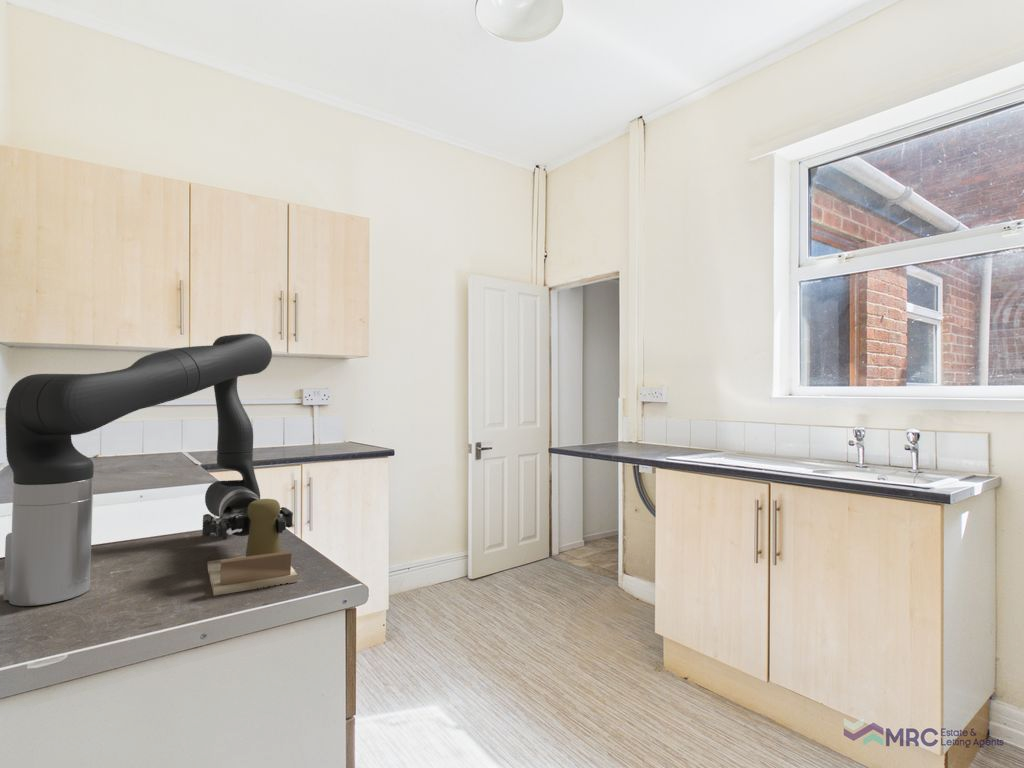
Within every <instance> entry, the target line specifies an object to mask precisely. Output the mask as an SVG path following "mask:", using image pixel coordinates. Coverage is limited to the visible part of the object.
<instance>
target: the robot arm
mask: <svg viewBox="0 0 1024 768" xmlns="http://www.w3.org/2000/svg"><path fill="white" fill-rule="evenodd" d="M271 347H272V346H271V345H270V343H269V342H268V340H267V339H265V338H264V337H263V336H262V335H259V334H256V333H255V334H254V333H240V334H230V335H229V334H228V335H222V336H220V337H217V338H216V339H215V340H214V342H213V343H212V345H195V346H184V347H178V348H171V349H166V350H161V351H157V352H153V353H150V354H147V355H145V356H141V358H139V359H137V360H136V361H135V362H134V363H132V364H131V365H130V366H128V367H125V368H121V369H119V370H113V371H106V372H96V373H84V374H83V373H37V374H34V373H33V374H30V375H26V376H24V377H23V378H21V379H19V380H18V381H17V382H16V383H15V384H14V385H13V386H12V387H11V389H10V391H9V393H8V396H7V400H6V404H5V412H4V413H5V414H4V415H5V416H4V417H5V453H6V460H7V463H8V465H9V467H10V469H11V471H12V476H13V477H12V478H13V481H12V482H13V483H12V484H13V485H12V486H13V487H12V513H11V515H12V517H11V518H12V519H11V532H8V533H7V534H6V536H5V541H4V542H5V545H4V546H5V547H4V571H3V573H4V575H3V601H8V602H9V604H11V605H13V606H19V607H20V606H21V607H26V606H27V607H29V606H30V607H31V606H41V605H42V606H43V605H48V604H53V603H58V602H62V601H67V600H69V599H73V598H76V597H79V596H81V595H83V594H85V593H87V592H88V591H89V590H90V587H91V585H90V584H91V563H92V562H91V559H92V532H93V530H92V529H93V503H94V501H93V500H94V497H93V495H94V494H93V493H94V471H95V470H94V466H95V465H94V462H93V460H92V459H91V458H90V457H88V456H86V455H84V454H83V453H81V452H80V451H78V449H76V447H75V446H74V444H73V442H72V436H75V435H76V436H77V435H82V434H86V433H90V432H92V431H94V430H97V429H99V428H101V427H104V426H106V425H107V424H110V423H112V422H114V421H116V420H118V419H120V418H123V417H124V416H126V415H129V414H131V413H134V412H137V411H139V410H142V409H147V408H150V407H151V408H152V407H154V406H158V405H161V404H164V403H167V402H171V401H175V400H179V399H181V398H184V397H187V396H189V395H192V394H194V393H198V392H200V391H203V390H205V389H208V388H211V387H213V389H214V390H213V391H214V397H215V404H216V405H215V406H216V410H217V411H216V413H217V448H216V453H217V454H216V465H217V466H218V468H221V470H223V469H224V470H231V471H235V472H238V474H239V473H240V476H241V478H242V479H237V480H236V479H235V480H234V479H232V480H231V479H230V480H229V479H228V480H217V481H214V482H212V483H211V484H210V485H209V486H208V487H207V489H206V492H205V496H204V501H205V502H204V503H205V506H206V508H207V510H208V512H209V513H210V514H209V513H206V514H203V516H202V533H201V534H202V537H205V538H206V537H208V536H209V537H210V536H211V534H214V536H216V537H215V538H220V539H221V541H222V540H224V541H225V540H227V539H228V538H227V536H228V535H234V536H236V537H245V536H246V537H247V536H249V530H250V523H251V520H250V518H249V517H248V514H247V509H248V506H249V504H250V503H251V502H253V501H255V500H259V499H261V492H260V488H259V484H258V482H257V477H256V474H255V473H256V472H255V469H254V459H253V457H254V456H253V455H254V454H253V453H254V430H253V429H254V428H253V424H252V421H251V420H250V419H251V418H250V417H249V416H248V413H247V411H246V410H245V408H244V406H243V404H242V402H241V399H240V396H239V393H238V377H244V376H249V375H257V374H260V373H262V372H263V371H265V370H266V369H267V368H268V366H269V365H270V363H271V361H272V356H273V350H272V348H271ZM293 515H294V512H292V511H291V510H290V509H289V508H287V507H285V506H284V507H283V506H282V507H280V513H279V515H278V517H277V518H276V520H277V533H279V534H283V533H284V532H283V531H286V530H287V528H292V527H293V526H294V525H293V523H294V522H293V518H294V517H293ZM215 516H216V517H215Z"/></svg>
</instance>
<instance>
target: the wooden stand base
mask: <svg viewBox="0 0 1024 768" xmlns="http://www.w3.org/2000/svg"><path fill="white" fill-rule="evenodd" d="M291 562H292V552H291V551H290V550H286V551H281V552H277V553H270V554H262V555H255V556H247V557H246V555H245V556H244V555H243V556H238V557H230V558H223V559H215V560H214V559H213V560H210V561H207V571H208V572H207V573H208V576H209V582H210V585H211V589H212V594H213V597H214V596H219V595H225V594H233V593H237V592H244V591H249V590H250V591H251V590H257V588H258V589H264V588H267V587H268V586H270V587H275V586H274V585H276V586H281V585H280V584H282V585H287V584H286V583H288V584H293V583H298V573H297V572H296V570H295V569H294V568H293V566H292V565H291V564H292V563H291ZM263 587H264V588H263ZM268 588H269V587H268Z"/></svg>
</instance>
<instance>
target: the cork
mask: <svg viewBox="0 0 1024 768" xmlns="http://www.w3.org/2000/svg"><path fill="white" fill-rule="evenodd" d="M280 508H281V506H280V502H279V501H278V500H276V499H274V498H273V499H272V498H260V499H259V500H255V501H253V502H251V503H250V504H249V506H248V509H247V514H248V517H249V518H250V520H251V523H250V530H249V535H247V536H248V538H247V544H246V551H245V556H246V557H247V556H255V555H262V554H270V553H277V552H282V550H281V542H280V533H277V520H276V518H277V517H278V515H279V513H280Z"/></svg>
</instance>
